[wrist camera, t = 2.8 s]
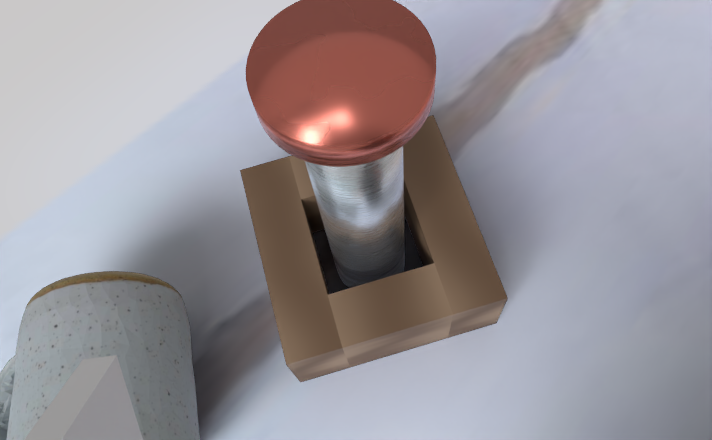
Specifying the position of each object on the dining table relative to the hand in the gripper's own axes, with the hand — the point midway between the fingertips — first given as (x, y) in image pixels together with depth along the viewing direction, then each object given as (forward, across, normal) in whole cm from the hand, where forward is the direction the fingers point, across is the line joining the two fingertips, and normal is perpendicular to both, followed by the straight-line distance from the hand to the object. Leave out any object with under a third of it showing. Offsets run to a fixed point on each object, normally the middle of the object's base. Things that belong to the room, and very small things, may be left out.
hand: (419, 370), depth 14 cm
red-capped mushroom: (+19, -2, -5) cm, 20 cm away
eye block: (+19, -2, -5) cm, 20 cm away
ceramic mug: (+14, -15, -10) cm, 23 cm away
